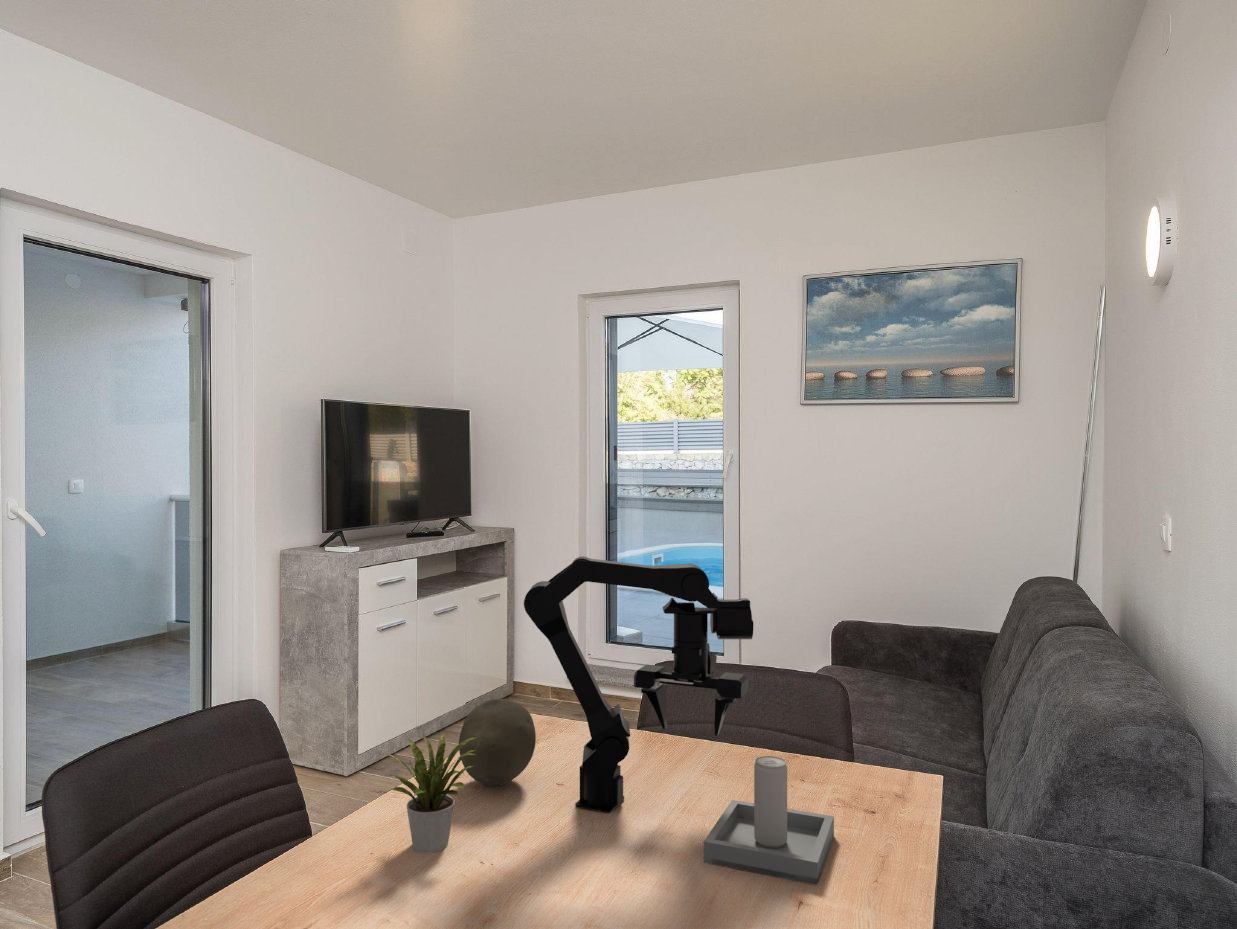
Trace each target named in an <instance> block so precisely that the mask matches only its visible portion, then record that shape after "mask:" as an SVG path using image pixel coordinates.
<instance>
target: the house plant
mask: <svg viewBox="0 0 1237 929" xmlns="http://www.w3.org/2000/svg"><path fill="white" fill-rule="evenodd" d="M421 735H422V739H423V740H424V742H425V743H426V746H427V750H428V758H429V765H428V768H427V763H426V760H425V756H424V751H425V749H424V748H422V750H421V749H420V747H418V746H417V745H416V743H415V742H414V741H413V740H412V739H411V738H410V739H409V738H407V740H408V742H409V743H408V744H409V746H410V748H411V751H412V754H413V757H414V766H412V765H410V763H409V764H408V765H409V766H408V765H407V764H406V763H405V762H404V761H403V760H402V759H400V758H398V757H397V756H394V755H392V754H390V753H385V755H387V756H389V757H392V758H394V759H395V760H397V761H399V762H400V763H401V764H402V765H403V766H404V767H405V768H406V769H407V771H408V772H409V773H410V774H411V776H412V777H413V779H414V780H415V781H416V783H417V784H418V787H417V785H415V784H414V783H412V781H410V780H408V779H407V778H404V777H403V776H400V775H396V774H394V775H393V776H394V777H395V779H398V780H399V781H400V782H401V783H402V784H403V785H404V786H406V787H407V788H409V790H408V789H407V788H405V787H402V786H396V787H393V788H391V789H390V791H394V792H395V791H396V792H400V793H403V794H405V795H407V796H409V797H411V799H410V800H409V801H408V802H407V803H406V806H405V807H406V812H407V817H408V824H409V825H408V826H409V831H410V837H411V843H412V844H411V845H412V848H413V850H414V851H416V852H419V853H424V854H426V853H436V852H439V851H442V850H444V849H445V848H447V847H448V845H449V840H450V834H451V828H452V822H453V817H454V816H453V815H454V812H455V810H454V809H455V803H456V801H455V798H454V797H452V796H450V795H455V796H457V797H460V795H459V793H458V791H457V790H455V789H451V788H452V787H453V788H454V787H456V788H459V789H461V791H464V787H465V784H464V783H463V782H462V781H458V782H456V781H457V779H459V777H460V776H461V775H462V774H463V775H465V773H464V772H466V769H468V768H470V767H472V766H468V767H466V768H462V769H461V770H456V768H457V767H458V765H459V764H460V763H461V762H462V759H463V758H464V757H465V756H466V755H477V754H472V753H470V752H473V751H475V750H471V751H468V752H466V753H464V754H463V755H461V756H460V755H459V756H458V757H457V759H456V761H455V762H453V763H452V764H451V762H452V761H453V759H454V758H455V756H456V754H457V753H458V752H459V750H460V749H461V748H462V747H463V746H464V745H465V744H466V743H467V742H468V741H470V740H472V739H475V738H477V737H473V738H469V739H466V740H464V741H463V742H461V743H460V744H459V743H458V744H457V745H456V747H455V748H454V749H453V750H451V752H450V754H449V755H448V756H446V757H444V756H445V753H446V751H449V750H448V749H446V738H445V737H446V735H445V732H443V733H442V734H441V736H440V737H439V742H438V746H437V751H436V756H435V755H434V750H433V746H432V744H431V743H430V740H428V738H427V737H426V735H424V734H423V733H421ZM446 759H447V760H446ZM445 760H446V762H445ZM450 764H451V765H450ZM449 765H450V766H449ZM453 775H454V777H453V778H452V779H451V777H452V776H453ZM450 779H451V781H450ZM449 781H450V782H449ZM448 782H449V784H448ZM447 785H448V786H447ZM410 790H411V791H410ZM412 792H413V793H412ZM413 794H414V795H413Z"/></svg>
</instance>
